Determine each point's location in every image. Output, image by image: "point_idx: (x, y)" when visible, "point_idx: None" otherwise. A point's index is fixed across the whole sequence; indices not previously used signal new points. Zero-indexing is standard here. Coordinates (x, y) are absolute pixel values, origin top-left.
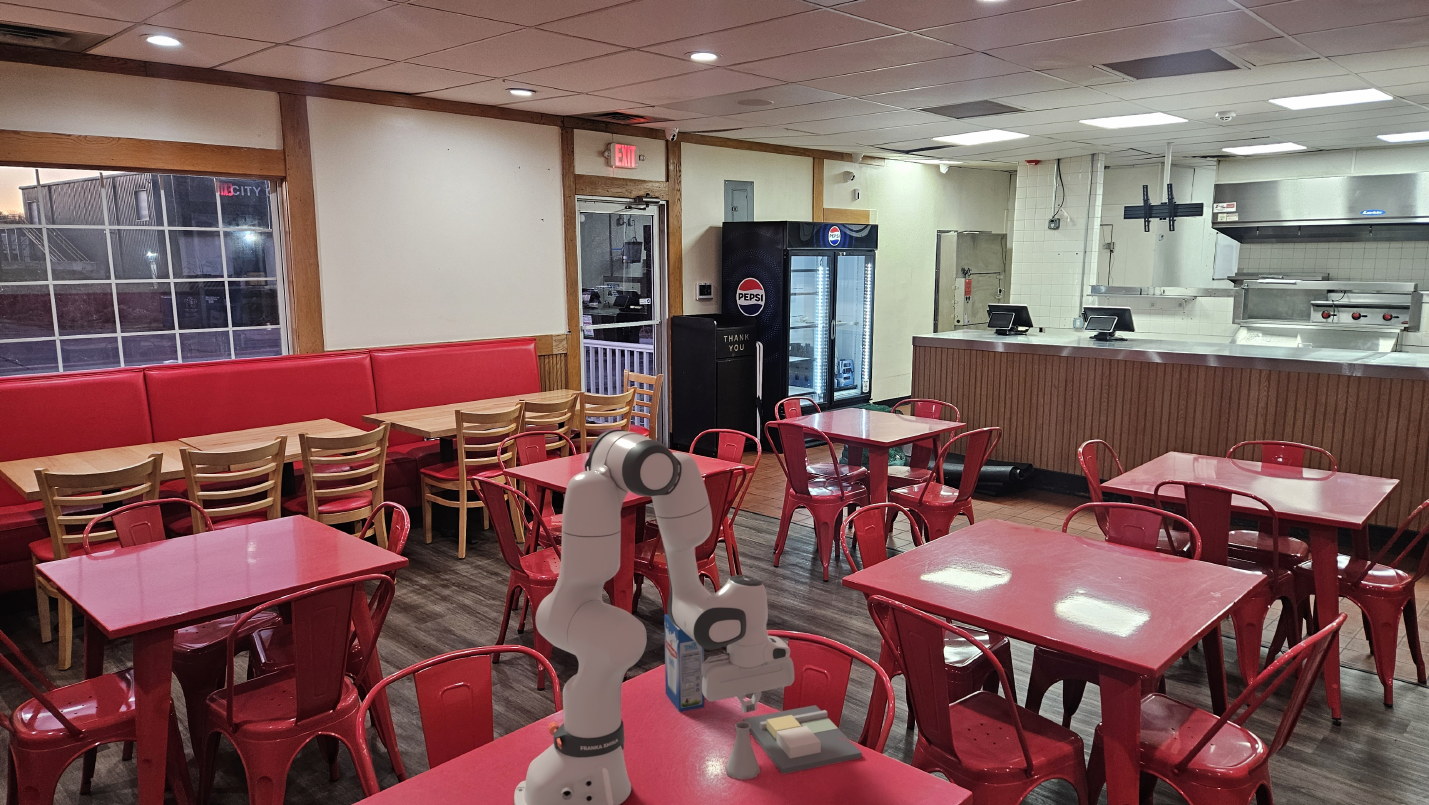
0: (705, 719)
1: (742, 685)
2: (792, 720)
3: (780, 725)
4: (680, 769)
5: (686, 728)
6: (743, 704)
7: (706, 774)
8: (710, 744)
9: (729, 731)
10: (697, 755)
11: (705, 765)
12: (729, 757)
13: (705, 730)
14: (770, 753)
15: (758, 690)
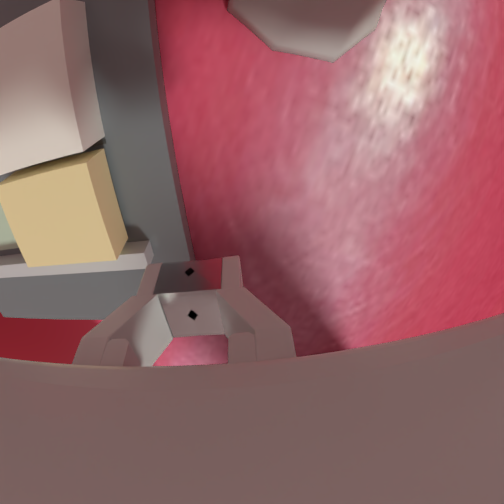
0: (311, 340)
1: (286, 476)
2: (22, 230)
3: (63, 202)
4: (497, 105)
5: (382, 311)
6: (246, 295)
7: (444, 33)
8: (362, 212)
9: (265, 273)
10: (429, 159)
11: (430, 86)
12: (380, 14)
13: (338, 293)
14: (152, 46)
15: (81, 377)
